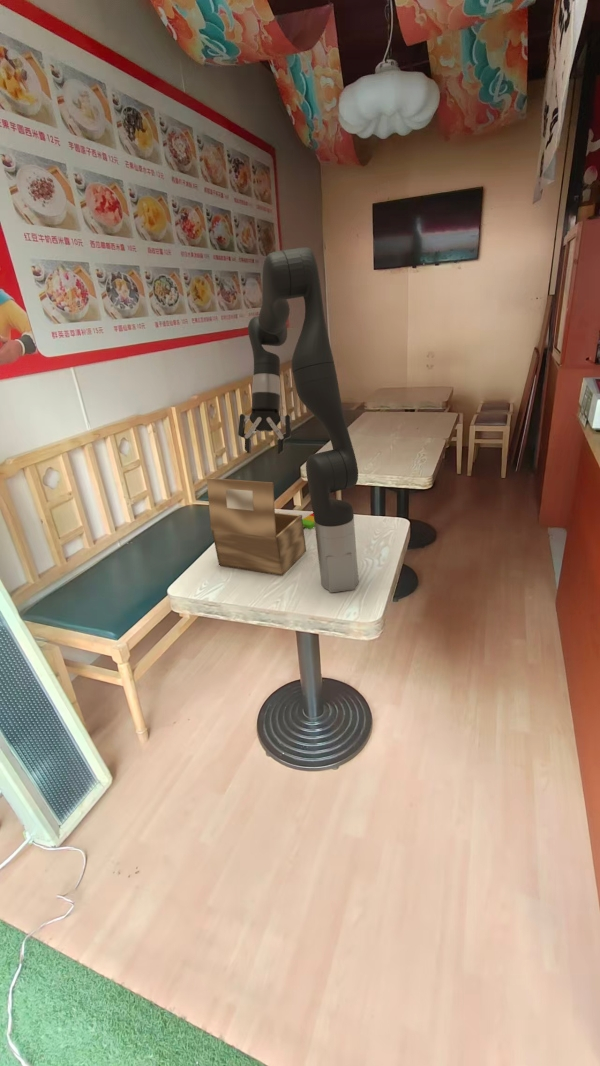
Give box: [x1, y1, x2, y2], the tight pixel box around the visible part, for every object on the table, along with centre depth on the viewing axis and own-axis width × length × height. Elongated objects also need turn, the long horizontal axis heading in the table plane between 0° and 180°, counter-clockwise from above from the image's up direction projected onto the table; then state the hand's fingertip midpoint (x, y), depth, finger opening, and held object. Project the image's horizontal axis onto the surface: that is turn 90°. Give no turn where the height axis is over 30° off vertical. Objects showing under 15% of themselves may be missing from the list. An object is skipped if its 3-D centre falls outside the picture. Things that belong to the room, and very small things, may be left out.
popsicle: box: [302, 512, 315, 530], centre depth 160 cm, size 6×15×2 cm, turn 139°
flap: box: [206, 477, 276, 538], centre depth 131 cm, size 14×20×1 cm
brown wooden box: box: [211, 512, 307, 577], centre depth 141 cm, size 14×20×11 cm
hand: (264, 453), depth 141 cm, fingers open, 8 cm apart
